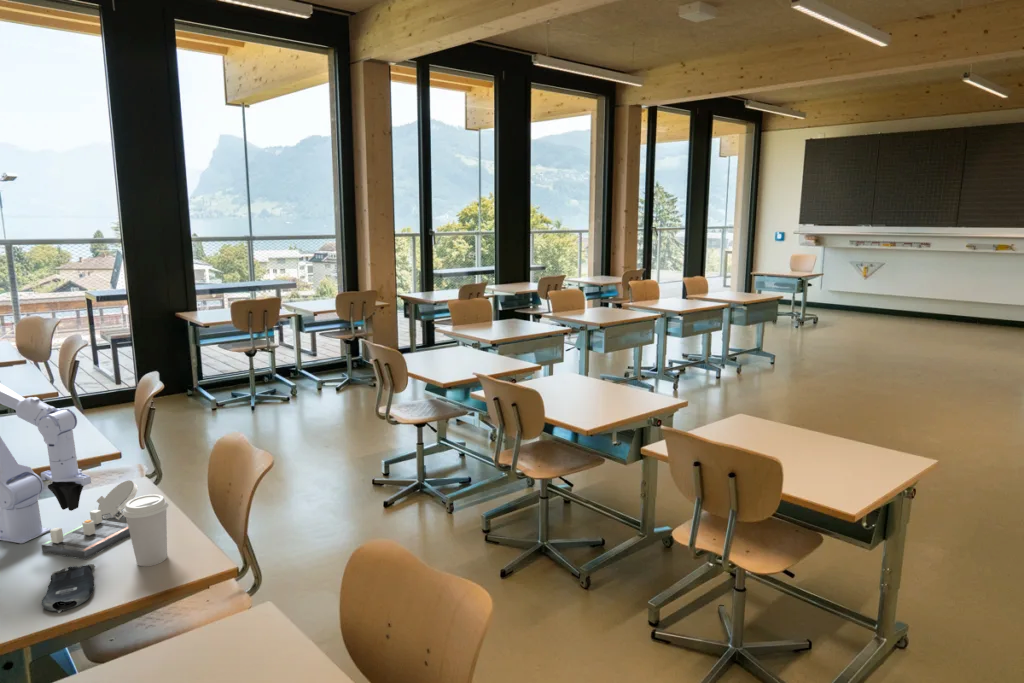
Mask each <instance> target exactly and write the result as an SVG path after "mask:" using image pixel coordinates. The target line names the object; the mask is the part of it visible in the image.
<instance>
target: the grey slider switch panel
mask: <svg viewBox="0 0 1024 683" xmlns="http://www.w3.org/2000/svg"><path fill="white" fill-rule="evenodd" d="M94 525H95V533H94V534H92V535H84V531H83V524H81V525H79V526H77V527H75V528H73V529H71V530H68V531H67V532H64V533H63V539H64V541H62V542H60V543H53V542H52V541H51V539H50V540H48V541H45V542H44V543H41V544H40V545H41V551H42V553H47V554H50V555H51V554H53V555H58V556H63V557H69V558H74V559H75V558H76V559H79V560H87V559H89V558H92V557H93V556H95V555H96V554H98V553H100V552H102V551H104V550H106V549H108V548H109V547H111V546H113V545H115V544H117V543H119V542H121V541H123V540H125V539H127V538H128V537H131V536H130V532H129V528H128V524H127V523H125V522H119V521H112V520H107V519H102V522H101V523H99V524H94Z"/></svg>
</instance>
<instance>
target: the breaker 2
mask: <svg viewBox="0 0 1024 683" xmlns="http://www.w3.org/2000/svg"><path fill="white" fill-rule="evenodd" d="M89 516H90V520H92V521H94V524H99V523H101V522H102V520H103V517H102V515H101V510H98V509H93V510H91V511H89Z"/></svg>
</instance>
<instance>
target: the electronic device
mask: <svg viewBox="0 0 1024 683" xmlns="http://www.w3.org/2000/svg"><path fill="white" fill-rule="evenodd" d="M95 568H96V565H95V564H94V563H89V564H84V565H80V566H77V565H73V566H70V565H69V566H67V570H66V568H62V569H60V570H58V571H54V572H51V575H50V582H49V583H48V586H47V590H46V593H45V595H44V596H43V597H42V600H41V604H40V605H41V606H42V607H43V609H44V610H46V611H49V612H57V613H61V612H62V610H63V609H59V610H58V609H56V608H54V606H53V605H54V604H55V603H56V605H57V606H58V607H66V606H69V605H72V604H75V603H76V604H75V605H74V606H72V607H69V608H66V609H65V611H66V610H70V609H74V608H76V607H79V606H80V605H82V604H84V603H85V602H87V600H89V599H90V598H91V596H92V594H93V592H94V590H95V576H94V573H95ZM62 602H63V603H62Z"/></svg>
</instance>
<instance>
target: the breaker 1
mask: <svg viewBox="0 0 1024 683" xmlns="http://www.w3.org/2000/svg"><path fill="white" fill-rule="evenodd" d="M49 533H50V540H51V541H52V542H53V543H60V542H62V541H64V539H63V534H64V533H63V528H61V527H53V528H51V530H50V531H49Z"/></svg>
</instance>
